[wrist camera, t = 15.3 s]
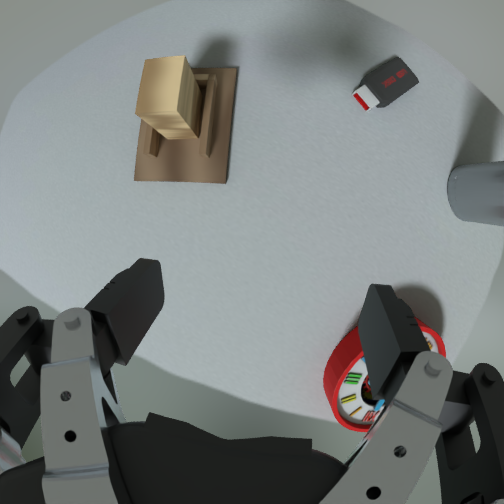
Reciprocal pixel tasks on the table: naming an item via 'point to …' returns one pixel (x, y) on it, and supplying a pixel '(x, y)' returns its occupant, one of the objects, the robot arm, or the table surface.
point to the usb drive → (385, 84)
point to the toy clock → (359, 381)
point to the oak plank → (170, 98)
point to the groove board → (193, 150)
